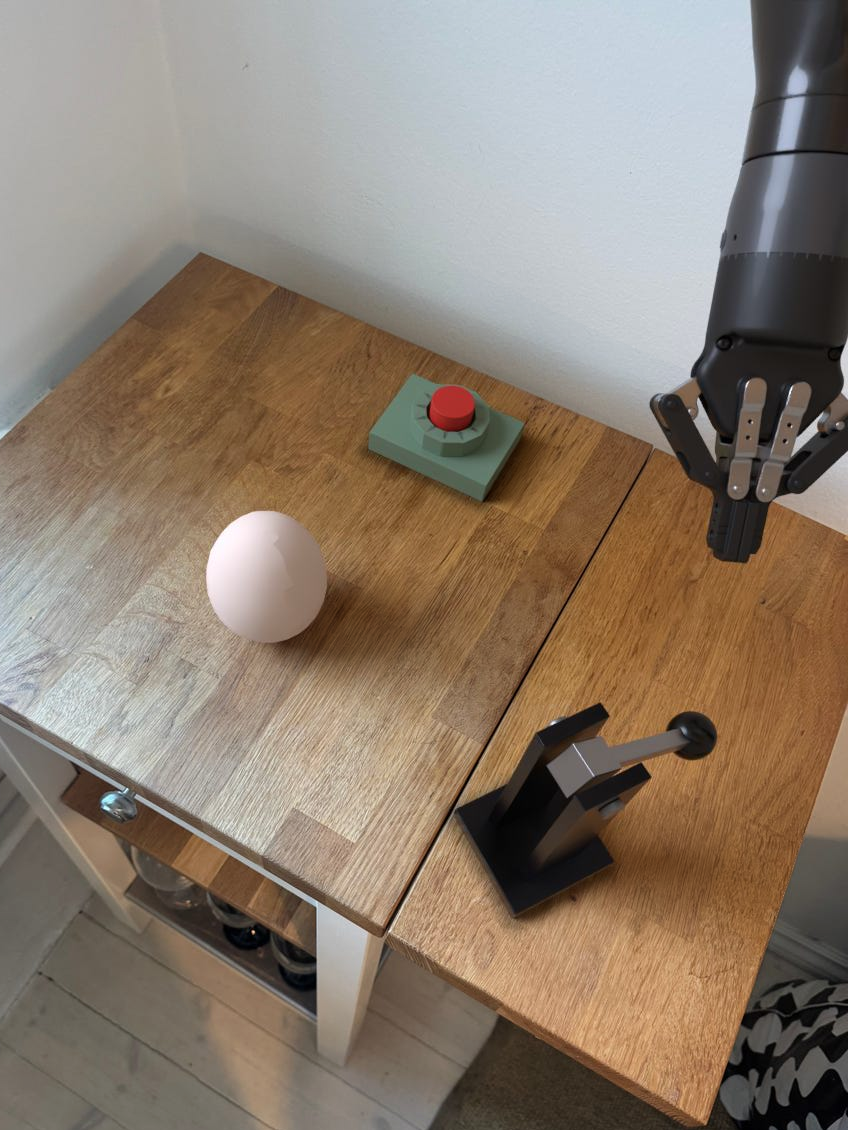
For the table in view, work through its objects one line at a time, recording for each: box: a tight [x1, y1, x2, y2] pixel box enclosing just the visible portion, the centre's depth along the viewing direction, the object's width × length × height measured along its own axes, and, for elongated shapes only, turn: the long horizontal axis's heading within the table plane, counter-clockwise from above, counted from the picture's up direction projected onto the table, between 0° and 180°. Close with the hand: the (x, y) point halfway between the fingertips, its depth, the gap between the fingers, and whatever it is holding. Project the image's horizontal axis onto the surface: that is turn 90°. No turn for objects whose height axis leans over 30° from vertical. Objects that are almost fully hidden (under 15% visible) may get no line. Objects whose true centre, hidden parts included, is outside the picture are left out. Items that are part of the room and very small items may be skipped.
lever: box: [547, 710, 718, 798], centre depth 56 cm, size 15×3×3 cm
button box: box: [367, 373, 526, 503], centre depth 79 cm, size 8×11×4 cm
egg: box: [205, 510, 328, 644], centre depth 66 cm, size 9×9×12 cm
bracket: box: [452, 701, 652, 919], centre depth 57 cm, size 8×8×16 cm
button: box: [429, 384, 475, 432], centre depth 77 cm, size 4×4×2 cm
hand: (730, 559), depth 57 cm, fingers closed
